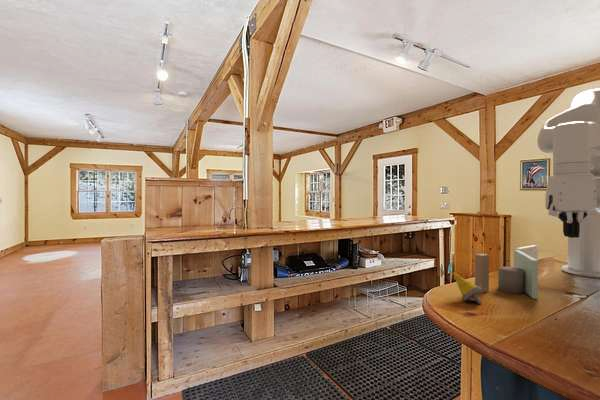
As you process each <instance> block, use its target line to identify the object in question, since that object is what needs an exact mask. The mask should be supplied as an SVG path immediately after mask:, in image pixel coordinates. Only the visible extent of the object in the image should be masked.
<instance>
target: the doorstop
mask: <svg viewBox="0 0 600 400" xmlns="http://www.w3.org/2000/svg"><path fill="white" fill-rule="evenodd" d="M497 271H498V272H497V274H498V277H497V278H498V280H497V281H498V283H497V284H498V285H497V286H498V288H497V289H498V291H499V290H500V291H501V292H504V293H507V292H508V293H509V294H514V295H515V294H518V295H519V294H524V293H525V291H524V270H522V269H520V268H515V267H514V266H498V270H497Z"/></svg>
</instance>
